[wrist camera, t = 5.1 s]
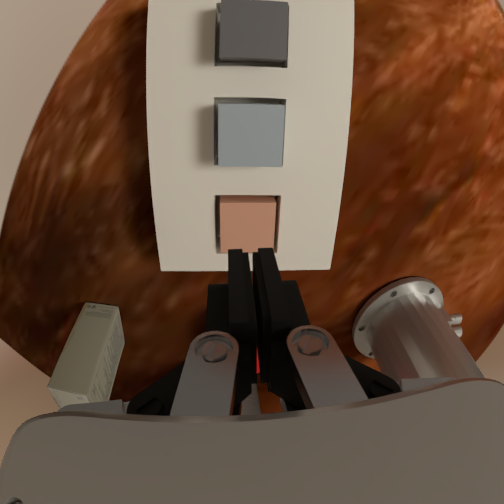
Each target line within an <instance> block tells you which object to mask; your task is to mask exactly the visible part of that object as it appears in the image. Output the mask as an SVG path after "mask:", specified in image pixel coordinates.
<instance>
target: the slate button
mask: <svg viewBox="0 0 504 504" xmlns="http://www.w3.org/2000/svg"><path fill="white" fill-rule="evenodd" d="M284 114H285V105H281V104H273V103H219V104H218V167H282V154H283V135H284Z"/></svg>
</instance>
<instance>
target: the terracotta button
mask: <svg viewBox="0 0 504 504" xmlns="http://www.w3.org/2000/svg"><path fill="white" fill-rule="evenodd" d="M275 216H276V201H275V198H274V195H221V196H220V241H221V252H228V249H242V251H243V252H258V248H274V232H275Z"/></svg>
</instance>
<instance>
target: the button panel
mask: <svg viewBox="0 0 504 504" xmlns="http://www.w3.org/2000/svg"><path fill="white" fill-rule="evenodd" d="M267 1H280V2H288V31H287V59H286V60H285V61H283V62H281V63H280V64H279V63H259V62H221V61H220V58H219V45H220V14H221V0H149V3H148V20H147V46H146V104H147V132H148V151H149V165H150V178H151V190H152V201H153V210H154V220H155V228H156V237H157V245H158V252H159V259H160V266H161V271H228V252H221V241H220V196H221V195H274V198H275V201H276V216H275V232H274V248H273V250H274V254H275V258H276V261H277V265H278V269H279V270H325V269H330V265H331V259H332V253H333V248H334V241H335V235H336V229H337V222H338V215H339V209H340V201H341V194H342V186H343V178H344V170H345V161H346V152H347V142H348V131H349V120H350V107H351V93H352V76H353V52H354V0H267ZM219 103H273V104H281V105H285V114H284V135H283V154H282V167H218V104H219ZM252 253H253V252H248V255H249V263H250V271H253V265H252Z"/></svg>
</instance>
